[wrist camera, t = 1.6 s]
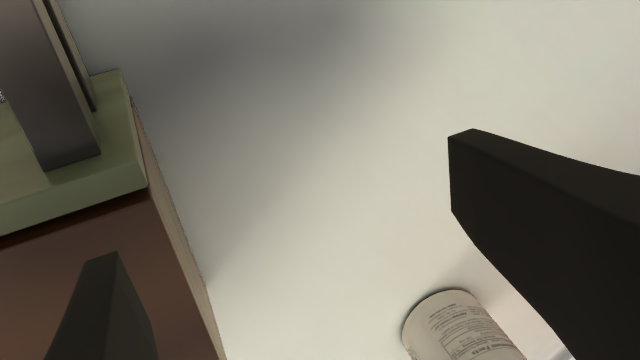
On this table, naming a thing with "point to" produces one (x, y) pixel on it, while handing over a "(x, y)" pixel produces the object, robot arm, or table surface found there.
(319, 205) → the table surface
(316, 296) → the table surface
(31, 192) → the green handled slab
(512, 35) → the table surface
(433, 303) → the pill bottle
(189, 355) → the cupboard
